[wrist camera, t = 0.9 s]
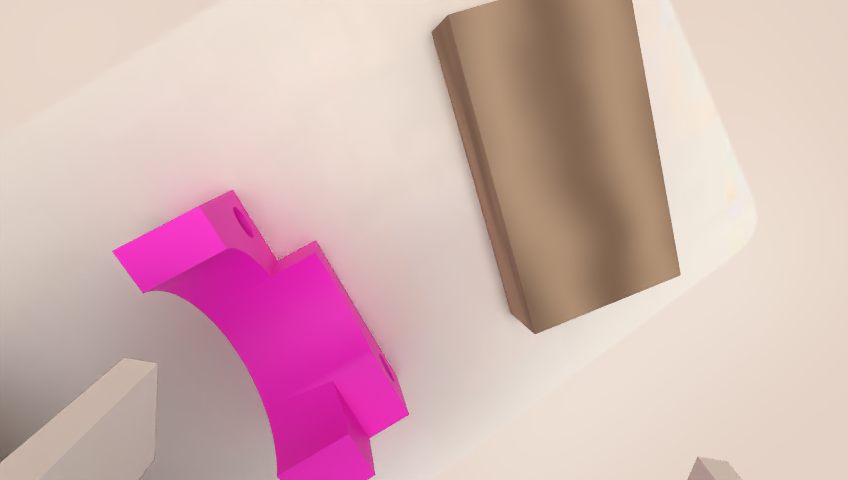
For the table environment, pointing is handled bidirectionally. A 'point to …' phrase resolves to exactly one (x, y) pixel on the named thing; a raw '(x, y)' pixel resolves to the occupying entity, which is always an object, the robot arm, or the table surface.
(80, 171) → the table surface
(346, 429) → the toy block
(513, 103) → the walnut base block
